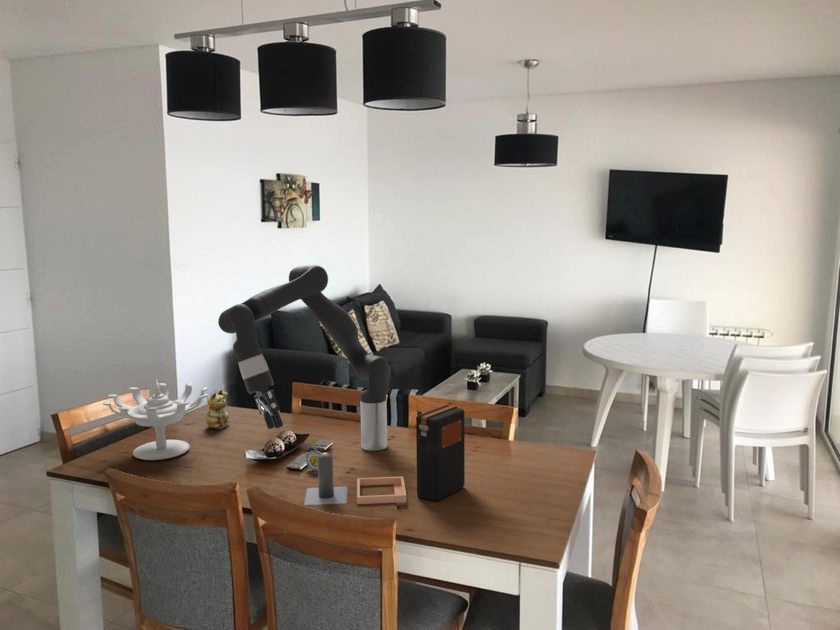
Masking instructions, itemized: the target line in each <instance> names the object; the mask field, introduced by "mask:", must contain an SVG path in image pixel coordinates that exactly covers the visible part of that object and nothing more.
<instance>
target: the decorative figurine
mask: <svg viewBox="0 0 840 630" xmlns="http://www.w3.org/2000/svg"><path fill="white" fill-rule="evenodd" d="M228 395H229V394H228V392H227V391H223V389H218V390H217V391H216V392H213V393H212V394H210V396H209V397H208V399H207V405H208V409H207V412H206V415H205V422H206V424H207V426H208V427H209V428H210V429H213V428H214V429H216V430H219V429H220V430H223V429H225V428H226V427H228V423H229V422H231V421H230V419H229V417H230V416H229V415H230V414H229V413H228V412H227V411H225V410H224V409H225V408H226V406H227V400H226V398H225V397H227V396H228ZM224 427H225V428H224ZM222 428H223V429H222Z"/></svg>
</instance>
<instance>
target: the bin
mask: <svg viewBox="0 0 840 630" xmlns="http://www.w3.org/2000/svg"><path fill="white" fill-rule="evenodd" d="M381 485H382V486H383V485H386V486H387V485H393V490H394V494H380V495H376V494H375V495H361V486H363V487H365V486H381ZM391 503H395V505H396V506H407V491H406V485H405V480H404V476H402V475H401V476H382V477H360V478H356V504H357V505H370V504H371V505H372V504H391Z"/></svg>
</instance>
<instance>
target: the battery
mask: <svg viewBox="0 0 840 630" xmlns="http://www.w3.org/2000/svg"><path fill="white" fill-rule="evenodd" d="M321 453H322V454H320V455H318V456H317V459H318V471H317V485H318V487H317V488H319V497H320V498H323V499H327V498H331V497H333V496H334V487H335V485H334V483H335V482H334V481H335V480H334V458H333V457H334V456H333V454H331V453H328V452H321Z"/></svg>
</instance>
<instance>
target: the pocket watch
mask: <svg viewBox="0 0 840 630" xmlns="http://www.w3.org/2000/svg"><path fill="white" fill-rule="evenodd" d="M316 445H317V446H316ZM311 447H312V449H313V450H311V451H309V452H308V453H307V455H306V456H305V462H306V465H307V467H308V468H309V469H310V471H311V472H318V459H317V456H318V455H320V454H322V453H323V452H321V451H319V450H317V449H319V447H320V444H319V443H316V442H314V443H312V444H311ZM307 472H308V470H306V471H304V472H302V474H304V473H307ZM302 474H300V477H301V478H303V476H302ZM308 479H310V480H311V479H312V478H311V477H310V478H307V480H308Z"/></svg>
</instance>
